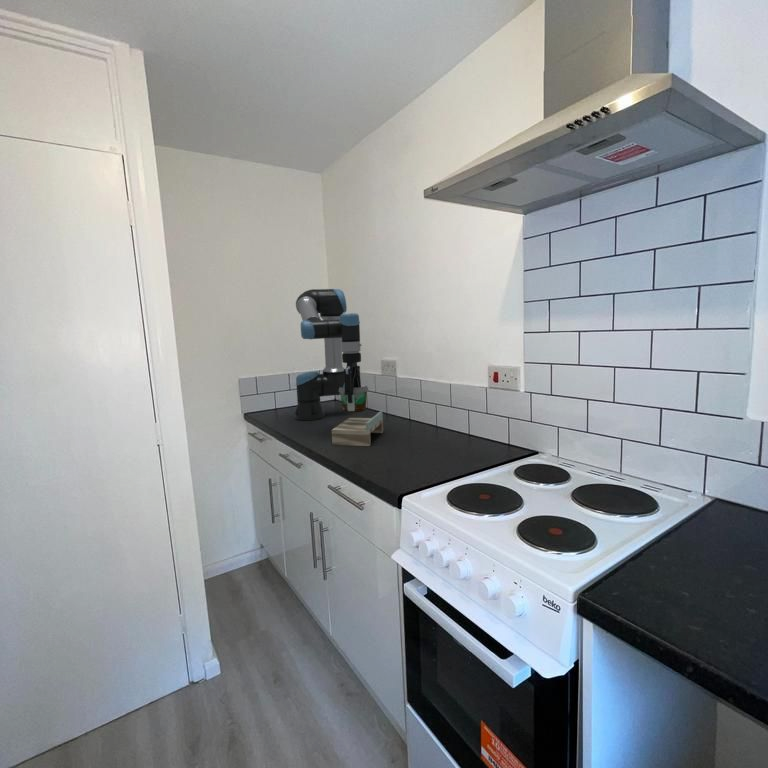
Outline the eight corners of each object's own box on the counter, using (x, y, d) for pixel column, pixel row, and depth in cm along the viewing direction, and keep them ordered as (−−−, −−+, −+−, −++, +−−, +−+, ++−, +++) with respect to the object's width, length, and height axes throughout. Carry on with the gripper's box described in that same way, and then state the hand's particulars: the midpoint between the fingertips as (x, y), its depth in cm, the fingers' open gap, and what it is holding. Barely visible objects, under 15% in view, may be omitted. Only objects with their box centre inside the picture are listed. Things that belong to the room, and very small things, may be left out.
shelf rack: (350, 431, 184) (349, 411, 183) (383, 431, 180) (382, 411, 179) (332, 445, 163) (331, 422, 162) (369, 446, 159) (368, 423, 158)
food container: (338, 413, 167) (337, 388, 166) (339, 410, 173) (338, 386, 172) (369, 412, 167) (368, 387, 166) (369, 409, 173) (368, 385, 172)
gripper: (352, 353, 157) (355, 414, 160) (367, 350, 176) (369, 404, 179) (333, 354, 159) (337, 413, 162) (350, 351, 178) (352, 404, 181)
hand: (354, 408), depth 170 cm, fingers closed on food container, 7 cm apart
